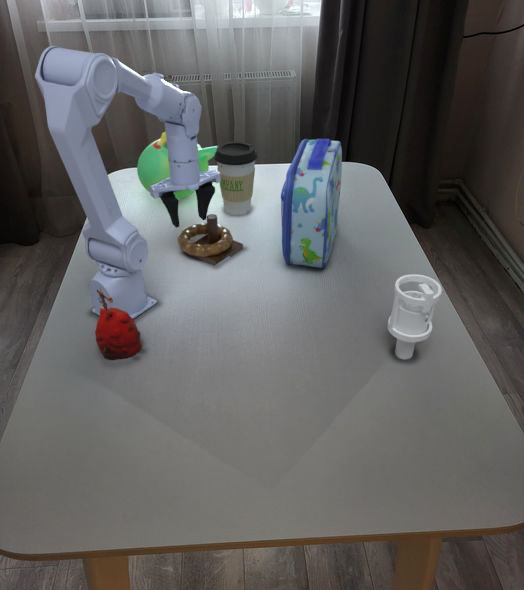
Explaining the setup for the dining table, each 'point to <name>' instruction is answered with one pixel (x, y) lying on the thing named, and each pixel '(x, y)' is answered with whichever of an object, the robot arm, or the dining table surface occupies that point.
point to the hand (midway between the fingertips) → (189, 221)
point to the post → (213, 238)
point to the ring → (204, 249)
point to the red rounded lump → (116, 332)
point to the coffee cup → (236, 175)
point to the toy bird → (166, 164)
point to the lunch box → (311, 203)
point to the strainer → (412, 313)
